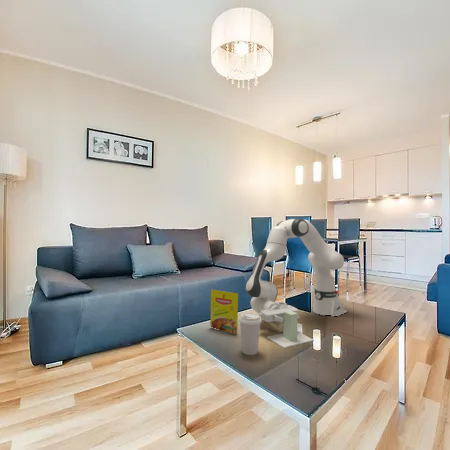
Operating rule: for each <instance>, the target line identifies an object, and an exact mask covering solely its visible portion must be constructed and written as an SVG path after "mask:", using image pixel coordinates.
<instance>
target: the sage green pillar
mask: <svg viewBox="0 0 450 450" xmlns="http://www.w3.org/2000/svg"><path fill="white" fill-rule="evenodd" d="M298 320H299V319H298V314H297V313H295V312H292V311H285V312H284V329H283V333H282V334H283V337H284V338H286V339H288V340H289V341H293V340H297V332H298Z"/></svg>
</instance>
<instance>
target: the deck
mask: <svg viewBox="0 0 450 450" xmlns="http://www.w3.org/2000/svg"><path fill="white" fill-rule="evenodd" d="M263 326H265V327H267V328H269V329H270V330H272V331H274V332H276V333H282V332H283V329H284V322H280V321H272V322H266V321H264V320H263Z"/></svg>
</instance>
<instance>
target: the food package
mask: <svg viewBox="0 0 450 450" xmlns="http://www.w3.org/2000/svg"><path fill="white" fill-rule="evenodd" d="M238 309H239V293H238V292H231V291H224V290H217V289H210V325H209V326H211V327H213V328H216V329H219V330H222V331H221V332H224V331H226V332H225V333H228V332H229V334H232V335H238V321H239V317H238V316H239V315H238V314H239V313H238V312H239V310H238ZM219 330H218V331H219Z"/></svg>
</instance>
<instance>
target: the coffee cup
mask: <svg viewBox="0 0 450 450" xmlns="http://www.w3.org/2000/svg"><path fill="white" fill-rule="evenodd" d="M262 320H263V319H262V318H261V316H259V315H258V313H255V312H243V313H241V315H240V317H238V321H239V323H240V340H241V342H240V343H241V353H243V354H244V355H246V356H255V355H257V354H258V353H259V352H258V350H259V342H260V341H259V339H260V331H261V323H263V322H262Z"/></svg>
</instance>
